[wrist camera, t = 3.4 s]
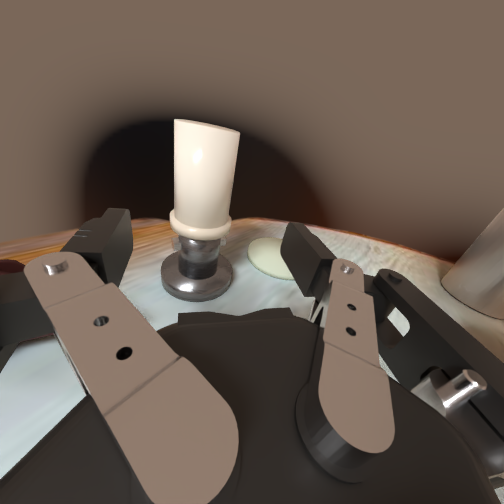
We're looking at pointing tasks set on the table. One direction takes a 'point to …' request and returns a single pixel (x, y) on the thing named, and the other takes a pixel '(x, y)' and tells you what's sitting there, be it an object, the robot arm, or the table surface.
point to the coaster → (268, 257)
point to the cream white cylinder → (203, 179)
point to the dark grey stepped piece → (196, 270)
